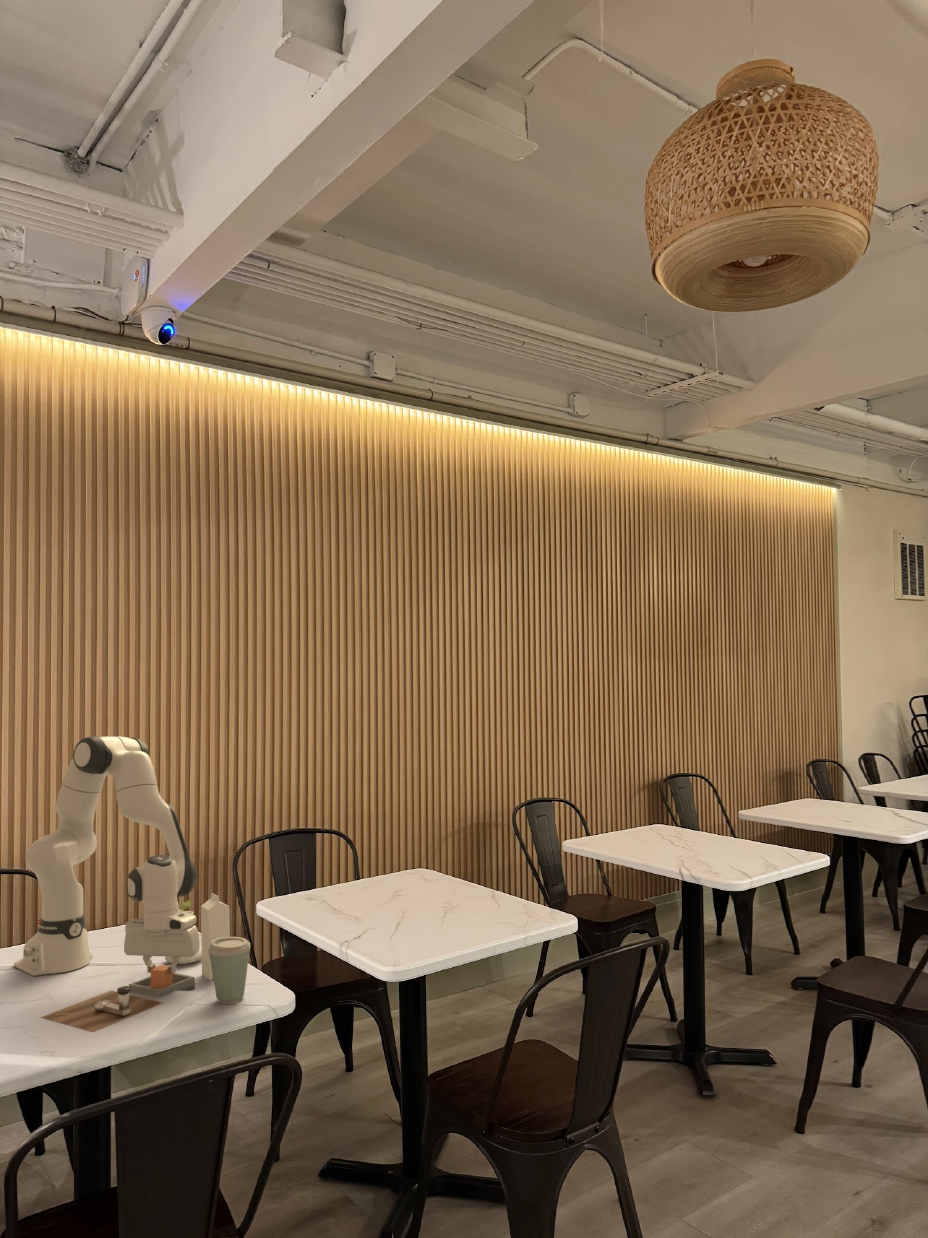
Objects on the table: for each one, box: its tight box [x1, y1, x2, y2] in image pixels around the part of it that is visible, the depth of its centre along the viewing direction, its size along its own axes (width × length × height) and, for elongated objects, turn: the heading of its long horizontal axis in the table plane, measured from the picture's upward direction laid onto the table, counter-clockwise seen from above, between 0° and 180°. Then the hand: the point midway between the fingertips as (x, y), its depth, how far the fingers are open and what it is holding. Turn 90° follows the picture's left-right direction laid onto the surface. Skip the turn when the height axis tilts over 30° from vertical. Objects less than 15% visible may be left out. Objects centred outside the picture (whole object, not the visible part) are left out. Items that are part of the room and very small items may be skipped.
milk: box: [200, 892, 231, 981], centre depth 244 cm, size 6×6×22 cm
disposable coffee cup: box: [208, 936, 251, 1005], centre depth 224 cm, size 11×11×15 cm
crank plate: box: [40, 990, 163, 1033], centre depth 215 cm, size 20×20×2 cm
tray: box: [128, 972, 196, 998], centre depth 231 cm, size 12×12×3 cm
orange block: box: [150, 964, 173, 990], centre depth 231 cm, size 4×4×5 cm
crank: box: [95, 985, 132, 1016], centre depth 214 cm, size 11×4×6 cm, turn 59°
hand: (161, 972), depth 231 cm, fingers open, 5 cm apart
